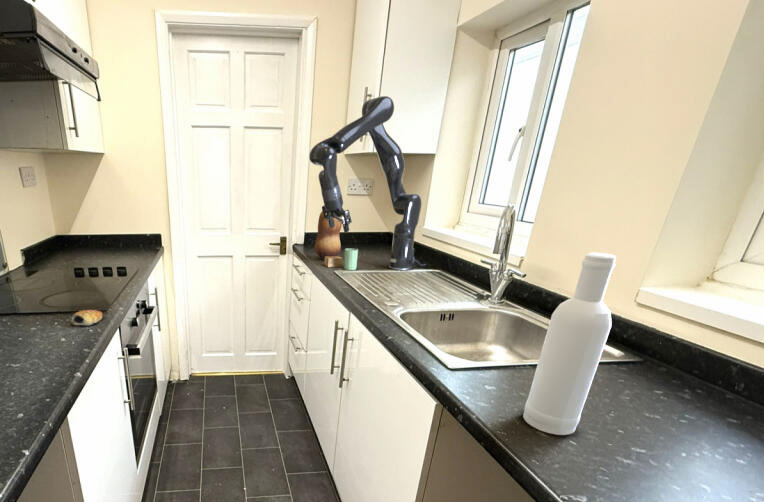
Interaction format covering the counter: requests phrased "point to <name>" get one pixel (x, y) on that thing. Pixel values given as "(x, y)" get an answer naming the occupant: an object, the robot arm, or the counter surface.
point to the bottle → (571, 351)
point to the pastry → (86, 317)
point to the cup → (350, 259)
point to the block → (333, 261)
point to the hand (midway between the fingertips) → (339, 229)
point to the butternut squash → (328, 238)
